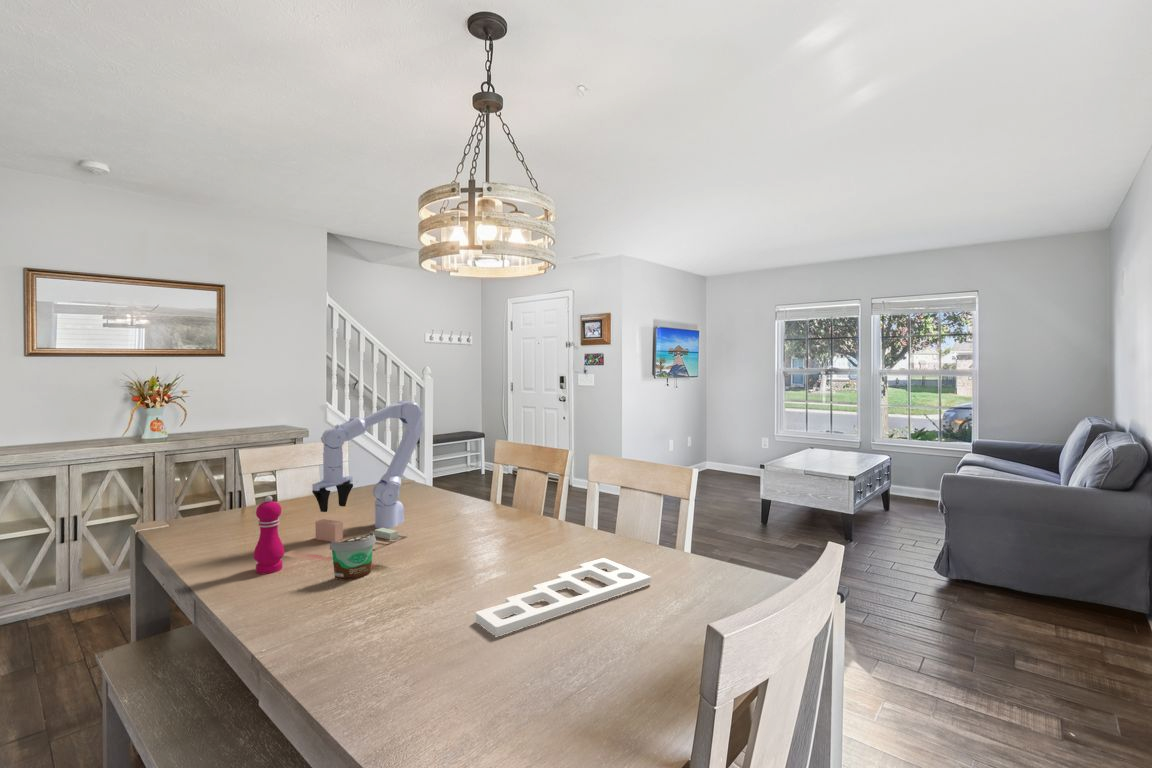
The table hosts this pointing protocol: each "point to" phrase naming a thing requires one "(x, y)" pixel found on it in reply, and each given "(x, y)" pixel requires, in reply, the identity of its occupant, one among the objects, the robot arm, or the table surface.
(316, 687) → the table surface
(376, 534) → the upper offcut
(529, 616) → the holder
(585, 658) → the table surface
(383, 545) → the rack
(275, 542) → the pepper mill
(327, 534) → the pink rectangular prism
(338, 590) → the table surface
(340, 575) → the food container
